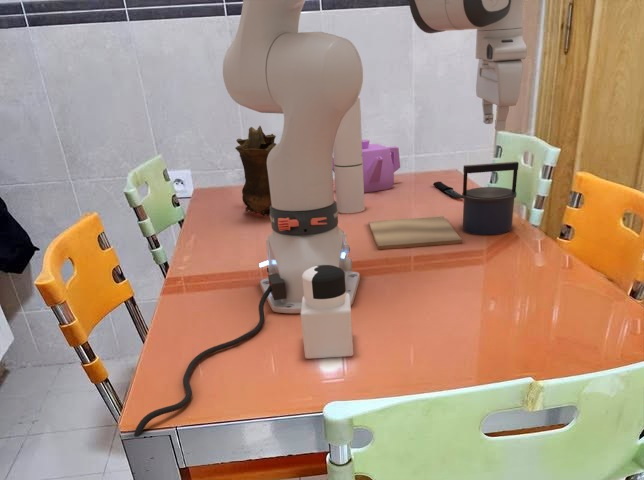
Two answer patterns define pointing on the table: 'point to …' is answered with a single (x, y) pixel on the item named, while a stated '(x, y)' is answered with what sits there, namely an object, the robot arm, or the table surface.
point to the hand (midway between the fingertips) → (493, 126)
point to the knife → (447, 189)
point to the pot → (488, 202)
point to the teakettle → (378, 166)
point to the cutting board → (413, 232)
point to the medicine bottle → (326, 313)
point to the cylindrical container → (349, 162)
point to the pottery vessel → (256, 170)
